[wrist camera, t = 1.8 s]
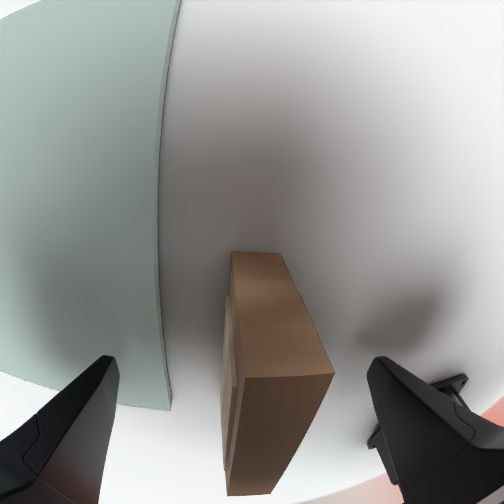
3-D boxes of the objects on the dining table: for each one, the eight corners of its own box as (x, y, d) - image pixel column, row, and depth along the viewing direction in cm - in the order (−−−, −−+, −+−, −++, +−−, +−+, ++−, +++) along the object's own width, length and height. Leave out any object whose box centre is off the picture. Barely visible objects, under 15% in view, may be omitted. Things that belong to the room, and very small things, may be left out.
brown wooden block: (279, 252, 9) (334, 372, 4) (254, 395, 12) (270, 493, 7) (228, 249, 9) (238, 377, 4) (219, 395, 11) (224, 495, 7)
